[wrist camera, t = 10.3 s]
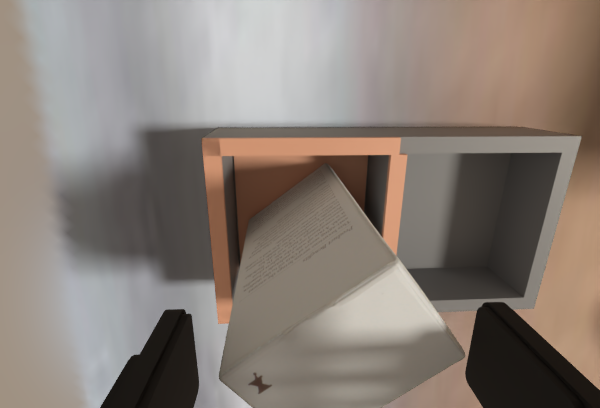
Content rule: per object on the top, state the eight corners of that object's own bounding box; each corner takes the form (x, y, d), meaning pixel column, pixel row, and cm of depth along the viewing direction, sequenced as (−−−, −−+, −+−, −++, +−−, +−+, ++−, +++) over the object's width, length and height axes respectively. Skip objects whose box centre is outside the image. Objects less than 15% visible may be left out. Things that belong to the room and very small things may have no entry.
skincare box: (289, 266, 22) (302, 461, 10) (247, 218, 20) (208, 380, 9) (367, 212, 21) (473, 360, 9) (327, 158, 19) (396, 255, 8)
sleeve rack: (522, 127, 20) (587, 137, 16) (490, 271, 24) (537, 311, 19) (218, 127, 19) (201, 138, 15) (229, 279, 23) (218, 323, 18)
